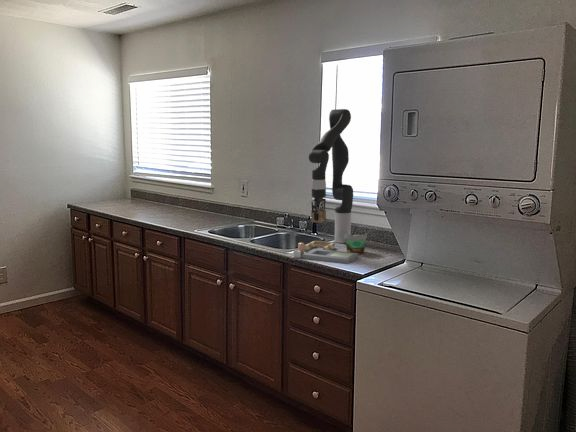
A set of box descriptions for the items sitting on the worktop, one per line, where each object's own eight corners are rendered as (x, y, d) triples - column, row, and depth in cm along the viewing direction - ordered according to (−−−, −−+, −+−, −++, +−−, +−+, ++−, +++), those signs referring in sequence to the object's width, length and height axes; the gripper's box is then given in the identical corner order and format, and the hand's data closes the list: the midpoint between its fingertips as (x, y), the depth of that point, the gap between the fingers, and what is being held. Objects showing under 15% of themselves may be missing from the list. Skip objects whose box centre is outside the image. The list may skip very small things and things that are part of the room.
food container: (348, 255, 264) (348, 236, 262) (344, 252, 270) (344, 233, 268) (370, 253, 267) (370, 235, 265) (365, 251, 273) (366, 232, 271)
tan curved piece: (314, 245, 285) (314, 240, 285) (334, 248, 280) (334, 242, 280) (304, 251, 273) (304, 245, 273) (324, 253, 268) (324, 247, 267)
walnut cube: (315, 220, 276) (315, 209, 275) (325, 220, 274) (326, 209, 273) (311, 222, 271) (311, 210, 270) (321, 222, 269) (321, 211, 268)
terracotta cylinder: (299, 253, 267) (299, 242, 266) (304, 254, 266) (305, 242, 265) (297, 254, 264) (297, 243, 263) (302, 255, 263) (302, 244, 262)
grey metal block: (294, 256, 262) (294, 249, 261) (301, 256, 262) (301, 249, 261) (293, 257, 259) (293, 251, 258) (300, 258, 258) (300, 251, 258)
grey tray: (314, 252, 270) (314, 248, 270) (357, 257, 260) (357, 252, 260) (302, 258, 257) (302, 254, 257) (347, 263, 247) (347, 259, 246)
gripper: (317, 186, 277) (317, 216, 280) (306, 189, 265) (306, 221, 268) (330, 186, 274) (330, 217, 277) (320, 189, 261) (319, 222, 264)
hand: (318, 219), depth 272 cm, fingers closed on walnut cube, 6 cm apart
